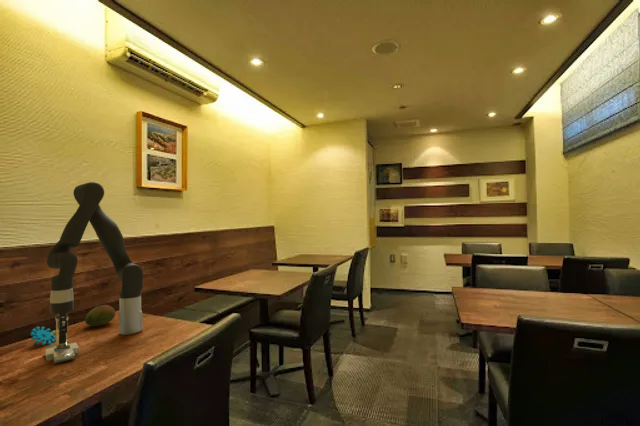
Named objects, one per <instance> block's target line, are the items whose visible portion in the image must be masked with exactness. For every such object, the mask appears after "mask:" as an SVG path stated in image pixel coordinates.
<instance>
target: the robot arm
mask: <svg viewBox="0 0 640 426" xmlns="http://www.w3.org/2000/svg"><path fill="white" fill-rule="evenodd" d="M73 196H74V199H75V201H76V202H77V204H78V208H77V209H76V211H75V212H74V213H73V215H72V216H71V218H70V219H69V220H68V221H67V223H66V224H65V227H64V228H63V230H62V233H61V236H60V237H59V240H58V241H57V242H56V244H55V245H54V246H53V248H51V250H50V251H49V253H48V255H47V256H46V265H47V267H49V268H51V269H55V270H56V269H58V270H59V271H58V274H56V275H55V274H54V275H53V276H52V277H51V280H50V296H49V313H50V314H52V315H56V316H55V322H56V323H55V327H56V326H57V329H59V333H58V334H59V344H63V343H66V333H67V334H68V328H69V318H70V317H69V315H68V314H67V313H69V312H72V311H74V308H75V307H74V306H75V305H74V302H75V301H74V289H73V288H74V282H73V280H74V276H75V272H76V269H77V266H78V262H79V261H78V257H77V255H76V254H75V253H74V252H73V251H70V250H72V249H76V248H77V247H79V246H80V244H81V241H82V238H83V235H84V234H85V231H86V229H87V228H88V227H87V226H88V224H89V223H90V225H91V226H92V228H93V231H94V232H95V234H96V236H97V238H98V241H99V242H100V244H101V246H102V247H103V249H104V251H105V252H106V254H107V256H109V259H110V260H111V262H112V265H113V267H114V270H115V272H116V275H117V278H118V279H119V280H120V281H121V291H119V294H118V295H119V311H118V312H119V315H118V316H119V318H118V319H119V326H118V327H119V332H118V333H119V334H120V335H125V336H126V335H128V336H129V335H134V334H136V333H138V332H141V331H143V311H142V292H143V289H144V288H143V287H144V272H143V268H142V267H141V266H140V265H138V264H136V263H133V261H132V259H131V258H130V257H129V255H128V252H127V249H126V245H125V239H124V237H123V236H124V235H123V233H122V231H121V230H120V227H119V226H118V224H117V223H116V222H115V221H114V220H113V219H112V218H111V217H110V216H109V215H107V214H106V212H104V210H103V209H102V207H101V205H100V203H101V201H102V200H103V199H104V196H105V189H104V187H103V185H101V184H100V183H99V182H97V181H96V182H95V181H91V182H85V183H82V184H79V185H76V186H75V187H74V189H73ZM62 329H65V331H61V330H62Z"/></svg>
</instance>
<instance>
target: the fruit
mask: <svg viewBox="0 0 640 426" xmlns="http://www.w3.org/2000/svg"><path fill="white" fill-rule="evenodd" d="M115 317H116V310H115V308H114V307H112V306H111V305H109V304H102V305H97V306H96V307H94V308H93V309H91V310H90V311H89V312H88V313H87V314H86V316H85V317H84V323H85V325H87V326H90V327H100V326H103V325H107V324H108V323H109V322H111V321H113V320H114V318H115Z"/></svg>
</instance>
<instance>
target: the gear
mask: <svg viewBox="0 0 640 426" xmlns="http://www.w3.org/2000/svg"><path fill="white" fill-rule="evenodd" d="M30 331H31V332H30V335H29V336H32V337H31V339H32V340H33V341H34V340H36V341H34V343H33V345H37V344H41V345H42V346H45V345H49V346H50V344H51V343H55V342H56V330H53V331H51V329H50V327H49V328H46V326H41V327H40V326H35V328H33V329H31V330H30ZM54 334H55V335H54Z"/></svg>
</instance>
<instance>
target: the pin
mask: <svg viewBox="0 0 640 426" xmlns="http://www.w3.org/2000/svg"><path fill="white" fill-rule="evenodd" d="M55 331H56V332H55V336H56V337H55V343H56V349H64V348H66V347H67V340H68V332H67V333H66V343H63V344H59V334H58V333H59V329H57V326H56V325H55ZM61 331H65V329H62V330H61Z"/></svg>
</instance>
